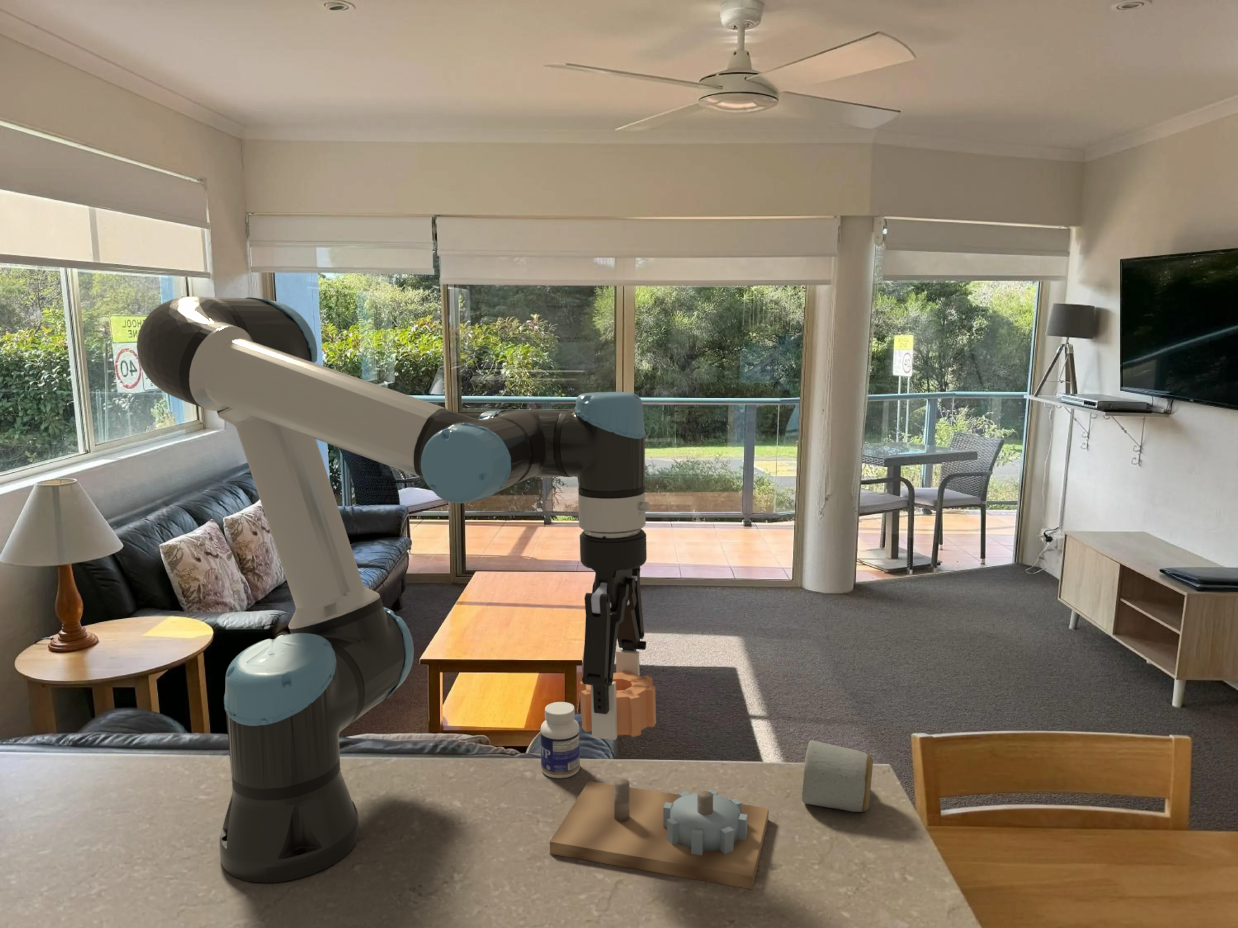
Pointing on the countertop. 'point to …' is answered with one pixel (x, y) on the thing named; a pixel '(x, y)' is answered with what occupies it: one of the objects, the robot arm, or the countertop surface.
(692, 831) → the slate gear
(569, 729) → the pill bottle
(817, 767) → the ceramic mug
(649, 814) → the walnut board
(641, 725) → the terracotta gear
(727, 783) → the countertop surface
